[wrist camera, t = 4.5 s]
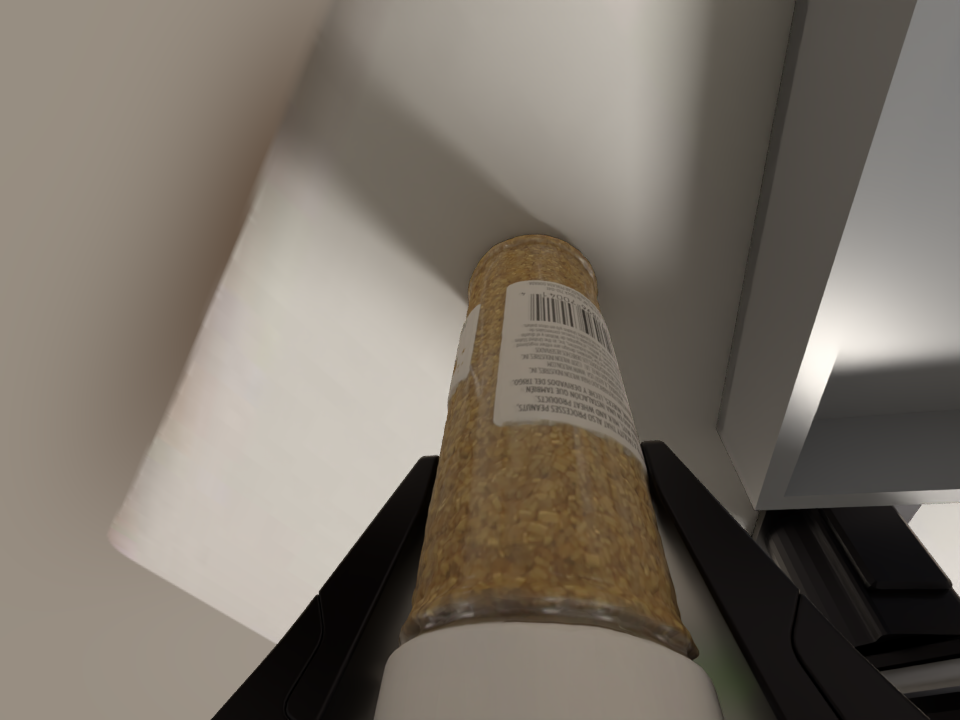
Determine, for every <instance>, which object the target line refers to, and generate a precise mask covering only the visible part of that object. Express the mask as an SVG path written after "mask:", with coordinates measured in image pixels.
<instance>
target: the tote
mask: <svg viewBox="0 0 960 720" xmlns="http://www.w3.org/2000/svg"><path fill="white" fill-rule="evenodd" d="M716 429H717V432H718V434H719V436H720V438H721V440H722V442H723V444H724V446H725V449H726V451H727V453H728V455H729V457H730V459H731V461H732V463H733V466H734V468H735V470H736V472H737V474H738V476H739V478H740V480H741V483H742V485H743V487H744V489H745V491H746V493H747V495H748V497H749V500H750V502H751V504H752V506H753V508H754V510H781V509H808V508H836V507H863V506H890V505H918V504H945V503H960V0H796V4H795V9H794V15H793V20H792V25H791V31H790V36H789V42H788V47H787V52H786V58H785V63H784V68H783V74H782V79H781V84H780V90H779V95H778V100H777V106H776V111H775V117H774V122H773V127H772V133H771V138H770V143H769V149H768V154H767V159H766V165H765V170H764V175H763V181H762V186H761V192H760V197H759V202H758V208H757V213H756V218H755V224H754V229H753V234H752V240H751V245H750V250H749V256H748V261H747V267H746V272H745V277H744V283H743V288H742V293H741V299H740V304H739V309H738V315H737V320H736V325H735V331H734V336H733V342H732V347H731V352H730V358H729V363H728V368H727V374H726V379H725V384H724V390H723V395H722V401H721V406H720V411H719V417H718V422H717V427H716Z"/></svg>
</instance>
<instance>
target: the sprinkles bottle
mask: <svg viewBox="0 0 960 720" xmlns="http://www.w3.org/2000/svg"><path fill="white" fill-rule="evenodd" d="M597 295H598V288H597V279H596V276H595V274H594V271H593V269H592V267H591V265H590V263H589V261H588V260H587V259H586V258H585V257H584V256H583V255H582V254H581V252H580V251H579V250H577V249H576V248H574V247H572V246H571V245H570V244H569V243H567V242H565V241H563V240H561V239H557V238H554V237H551V236H548V235H541V234H538V235H524V236H517V237H515V238H513V239H508V240H506V241H504V242H501V243H499V244H497V245H495V246H494V247H492V248H491V249H490V250H489V251H488V252H487V253H486V254H485V255H484V256H483V257H482V259H481V260H480V261H479V263H478V265H477V267H476V269H475V270H474V272H473V274H472V277H471V279H470V282H469V287H468V300H469V307H468V311H467V317H466V321H465V323H464V325H463V328H462V331H461V335H460V340H459V344H458V349H457V355H456V360H455V365H454V371H453V375H452V380H451V385H450V391H449V396H448V415H447V421H446V424H445V429H444V436H443V440H442V446H441V452H440V458H439V464H438V467H437V475H436V480H435V484H434V488H433V493H432V498H431V502H430V506H429V511H428V518H427V522H426V528H425V537H424V543H423V546H422V551H421V556H420V561H419V567H418V574H417V582H416V588H415V590H414V592H413V596H412V610H411V612H410V615H409V617H408V619H407V620H406V622H405V623H404V625H403V626H402V628H401V632H400V636H399V648H398V649H396V650H395V651H394V652H393V653H392V654H391V655H390V657H389V659H388V661H387V663H386V665H385V669H384V674H383V678H382V683H381V687H380V692H379V697H378V701H377V706H376V711H375V716H374V720H725V719H724V716H723V712H722V709H721V705H720V702H719V699H718V695H717V692H716V689H715V687H714V685H713V682H712V680H711V678H710V677H709V676H708V675H707V673H706V672H705V671H704V670H703V668H702V667H700V666H699V665H698V664H696V663H695V662H693V661H692V660H694V659H696V658H698V656H699V650H698V648H697V646H696V645H695V643H694V641H693V639H692V637H691V634H690V632H689V631H688V630H687V628H686V627H685V626H684V625H683V623H682V621H681V613H680V611H679V608H678V604H677V597H676V592H675V588H674V585H673V582H672V578H671V575H670V571H669V568H668V564H667V560H666V557H665V553H664V549H663V545H662V539H661V536H660V533H659V531H658V526H657V520H656V515H655V511H654V508H653V505H652V500H651V495H650V483H649V476H648V471H647V468H646V464H645V460H644V457H643V453H642V449H641V446H640V442H639V439H638V435H637V431H636V428H635V424H634V420H633V417H632V413H631V410H630V406H629V402H628V399H627V395H626V391H625V388H624V384H623V380H622V377H621V373H620V369H619V366H618V362H617V359H616V355H615V352H614V348H613V345H612V341H611V338H610V334H609V331H608V328H607V325H606V323H605V320H604V318H603V317H602V315H601V311H600V307H599V303H598V301H597Z"/></svg>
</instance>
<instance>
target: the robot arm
mask: <svg viewBox="0 0 960 720" xmlns="http://www.w3.org/2000/svg"><path fill="white" fill-rule="evenodd" d="M640 446H641V449H642V453H643V457H644V460H645V464H646V468H647V471H648V476H649V483H650V495H651V500H652V505H653V508H654V511H655V515H656V520H657V526H658V531H659V533H660V536H661V539H662V545H663V549H664V553H665V557H666V560H667V564H668V568H669V571H670V575H671V578H672V582H673V585H674V588H675V592H676V597H677V604H678V608H679V611H680V613H681V621H682V623H683V625H684V626H685V627H686V628H687V630H688V631H689V632H690V634H691V637H692V639H693V641H694V643H695V645H696V646H697V648H698V650H699V656H698V658H696V659H694V660H692V661H693V662H695V663H696V664H698V665H699V666H700V667H702V668H703V670H704V671H705V672H706V673H707V675H708V676H709V677H710V678H711V680H712V682H713V685H714V687H715V689H716V692H717V695H718V699H719V702H720V705H721V709H722V712H723V716H724V719H725V720H960V597H959V596H958V594H957V593H956V592H955V590H954V589H953V588H952V582H951V580H950V579H949V578H948V576H947V575H946V574H945V573H944V571H943V570H942V569H941V567H940V566H939V565H938V563H937V562H936V561H935V559H934V558H933V557H932V556H931V554H930V553H929V552H928V550H927V549H926V548H925V546H924V545H923V544H922V542H921V541H920V540H919V538H918V537H917V536H916V535H915V533H914V532H913V531H912V529H911V528H910V527H909V525H908V523H909V521H910V520H911V519H912V517H913V516H914V515H915V513H916V512H917V510H918V509H919V508H920V506H921V505H922V504H918V505H890V506H863V507H836V508H808V509H781V510H761V511H760V514H759V517H758V520H757V523H756V526H755V529H754V532H753V535H752V537H751V536H750V535H749V534H748V533H747V532H746V531H745V530H744V529H743V528H742V527H741V525H740V524H739V523H738V522H737V521H736V520H735V519H734V518H733V517H732V516H731V515H730V514H729V512H728V511H727V510H726V509H725V508H724V507H723V506H722V505H721V504H720V503H719V502H718V501H717V499H716V498H715V497H714V496H713V495H712V494H711V493H710V492H709V491H708V490H707V489H706V488H705V486H704V485H703V484H702V483H701V482H700V481H699V480H698V479H697V478H696V477H695V476H694V475H693V473H692V472H691V471H690V470H689V469H688V468H687V467H686V466H685V465H684V464H683V463H682V462H681V460H680V459H679V458H678V457H677V456H676V455H675V454H674V453H673V452H672V451H671V450H670V449H669V447H668V446H667V445H666V444H665V443H664V442H662V441H660V440H655V441H644V442H642V443H641V445H640ZM439 458H440V457H439V456H437V455H433V456H423V457H421V458H420V459H419V460H418V461H417V463H416V464H415V465H414V467H413V468H412V469H411V471H410V472H409V473H408V475H407V476H406V477H405V479H404V480H403V481H402V483H401V484H400V485H399V487H398V488H397V489H396V490H395V492H394V493H393V494H392V496H391V497H390V498H389V500H388V501H387V502H386V504H385V505H384V506H383V508H382V509H381V510H380V512H379V513H378V514H377V516H376V517H375V518H374V519H373V521H372V522H371V523H370V525H369V526H368V527H367V529H366V530H365V531H364V533H363V534H362V535H361V537H360V538H359V539H358V541H357V542H356V543H355V544H354V546H353V547H352V548H351V550H350V551H349V552H348V554H347V555H346V556H345V558H344V559H343V560H342V562H341V563H340V564H339V566H338V567H337V568H336V570H335V571H334V572H333V573H332V575H331V576H330V577H329V579H328V580H327V581H326V583H325V584H324V585H323V587H322V588H321V589H320V591H319V595H316V596H315V597H314V598H313V600H312V601H311V602H310V604H309V605H308V606H307V607H306V609H305V610H304V611H303V613H302V614H301V615H300V617H299V618H298V619H297V620H296V622H295V623H294V624H293V625H292V627H291V628H290V629H289V630H288V632H287V633H286V634H285V635H284V637H283V638H282V639H281V640H280V641H279V643H278V644H277V645H276V646H275V647H274V649H273V650H272V651H271V652H270V653H269V654H268V655H267V657H266V658H265V659H264V660H263V661H262V663H261V664H260V665H259V666H258V667H257V668H256V669H255V670H254V672H253V673H252V674H251V675H250V676H249V677H248V678H247V679H246V681H245V682H244V683H243V684H242V685H241V686H240V687H239V688H238V690H237V691H236V692H235V693H234V694H233V695H232V696H231V697H230V699H229V700H228V701H227V702H226V703H225V704H224V705H223V707H222V708H221V709H220V710H219V711H218V712H217V713H216V715H215V716H214V717H213V718H212V719H211V720H374V716H375V711H376V706H377V701H378V697H379V692H380V687H381V683H382V678H383V674H384V669H385V665H386V663H387V661H388V659H389V657H390V655H391V654H392V653H393V652H394V651H395V650H396V649H398V648H399V636H400V632H401V628H402V626H403V625H404V623H405V622H406V620H407V619H408V617H409V615H410V612H411V610H412V596H413V592H414V590H415V588H416V582H417V574H418V567H419V561H420V556H421V551H422V546H423V543H424V537H425V528H426V522H427V518H428V511H429V506H430V502H431V498H432V493H433V488H434V484H435V480H436V475H437V467H438V464H439Z"/></svg>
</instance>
